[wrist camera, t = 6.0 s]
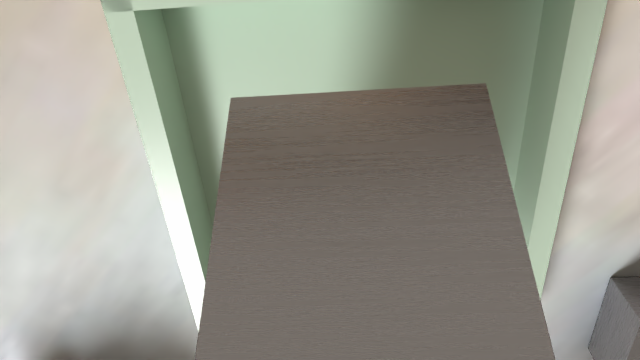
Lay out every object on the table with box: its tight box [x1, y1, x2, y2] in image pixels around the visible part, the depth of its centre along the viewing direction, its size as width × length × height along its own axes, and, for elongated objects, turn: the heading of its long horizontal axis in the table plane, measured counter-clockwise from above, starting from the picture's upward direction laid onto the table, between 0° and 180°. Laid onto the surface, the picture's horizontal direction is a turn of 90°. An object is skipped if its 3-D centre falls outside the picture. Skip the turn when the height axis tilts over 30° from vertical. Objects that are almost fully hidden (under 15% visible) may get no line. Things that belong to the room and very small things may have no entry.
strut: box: [195, 83, 555, 360], centre depth 11 cm, size 12×4×4 cm, turn 5°
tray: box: [101, 0, 608, 332], centre depth 17 cm, size 16×13×3 cm
